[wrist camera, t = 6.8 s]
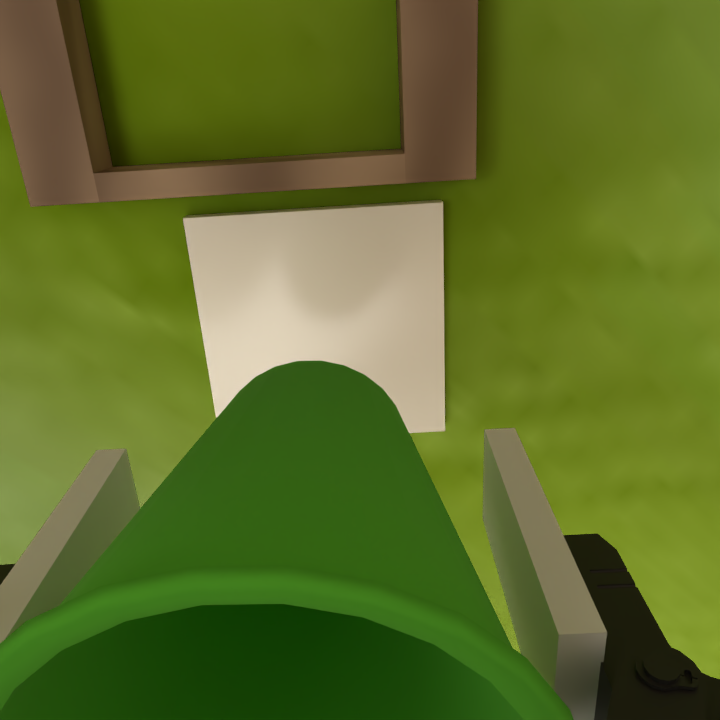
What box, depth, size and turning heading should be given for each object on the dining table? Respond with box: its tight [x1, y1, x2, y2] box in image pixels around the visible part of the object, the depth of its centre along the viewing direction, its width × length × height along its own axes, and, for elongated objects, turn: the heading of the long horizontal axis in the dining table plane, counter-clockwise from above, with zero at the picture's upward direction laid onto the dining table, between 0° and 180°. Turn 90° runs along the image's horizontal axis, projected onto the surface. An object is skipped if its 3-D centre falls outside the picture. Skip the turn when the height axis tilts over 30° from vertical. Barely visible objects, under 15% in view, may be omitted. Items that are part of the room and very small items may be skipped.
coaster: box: [183, 200, 445, 433], centre depth 27 cm, size 10×10×1 cm
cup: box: [0, 360, 574, 720], centre depth 14 cm, size 9×9×11 cm
